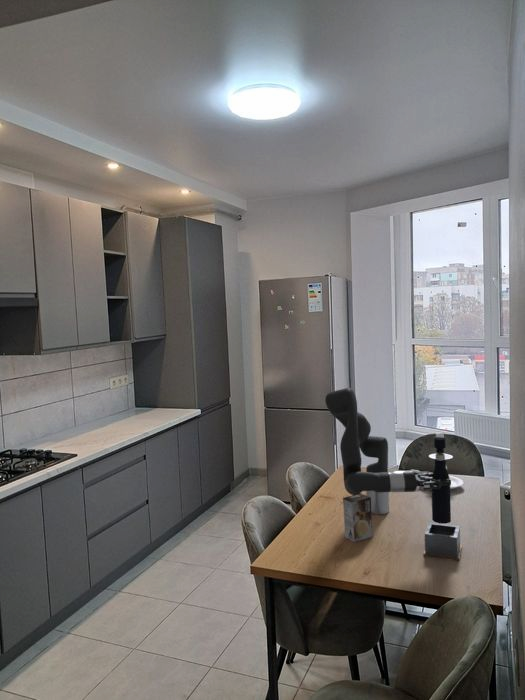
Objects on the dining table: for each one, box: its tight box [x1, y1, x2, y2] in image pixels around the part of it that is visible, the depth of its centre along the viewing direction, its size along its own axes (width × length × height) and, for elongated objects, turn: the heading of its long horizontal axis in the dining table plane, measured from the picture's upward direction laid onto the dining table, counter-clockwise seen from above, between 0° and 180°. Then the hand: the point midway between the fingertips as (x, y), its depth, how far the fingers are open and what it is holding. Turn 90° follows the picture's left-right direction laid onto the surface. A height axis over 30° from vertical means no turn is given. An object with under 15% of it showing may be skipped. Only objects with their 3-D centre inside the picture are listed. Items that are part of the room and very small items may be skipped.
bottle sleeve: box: [422, 522, 463, 562], centre depth 194 cm, size 12×12×8 cm
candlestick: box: [411, 432, 465, 491], centre depth 264 cm, size 21×25×28 cm
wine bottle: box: [431, 436, 452, 525], centre depth 192 cm, size 6×6×30 cm
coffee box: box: [342, 492, 374, 543], centre depth 210 cm, size 9×6×16 cm
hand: (446, 479), depth 192 cm, fingers closed on wine bottle, 6 cm apart
